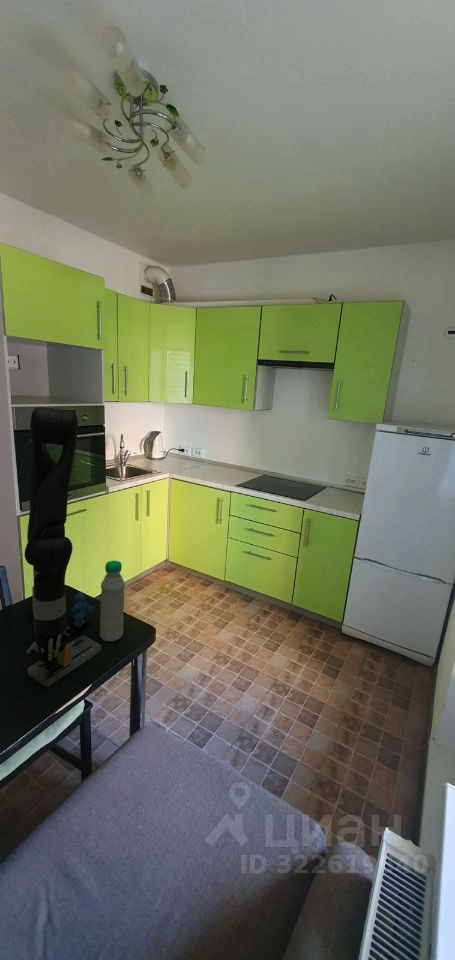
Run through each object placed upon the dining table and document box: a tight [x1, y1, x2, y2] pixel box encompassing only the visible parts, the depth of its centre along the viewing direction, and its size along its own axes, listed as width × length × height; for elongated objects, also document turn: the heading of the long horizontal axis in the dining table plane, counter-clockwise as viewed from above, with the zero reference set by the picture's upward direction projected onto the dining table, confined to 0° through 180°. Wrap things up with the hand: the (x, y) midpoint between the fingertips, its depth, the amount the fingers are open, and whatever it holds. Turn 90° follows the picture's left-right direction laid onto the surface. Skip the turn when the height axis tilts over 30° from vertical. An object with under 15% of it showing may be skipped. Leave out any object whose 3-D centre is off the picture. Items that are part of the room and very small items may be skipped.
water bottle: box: [99, 560, 126, 642], centre depth 120 cm, size 7×7×25 cm
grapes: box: [71, 591, 95, 628], centre depth 125 cm, size 12×7×12 cm, turn 18°
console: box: [27, 634, 102, 688], centre depth 110 cm, size 8×18×2 cm, turn 150°
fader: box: [57, 643, 72, 667], centre depth 106 cm, size 3×2×5 cm
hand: (50, 669), depth 103 cm, fingers closed
